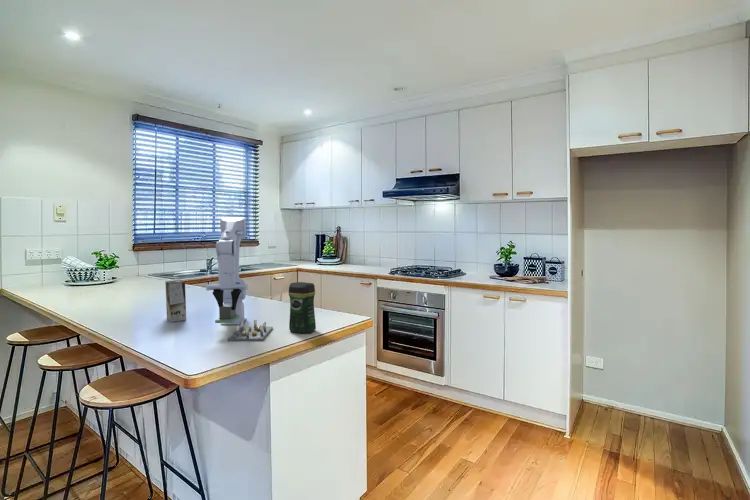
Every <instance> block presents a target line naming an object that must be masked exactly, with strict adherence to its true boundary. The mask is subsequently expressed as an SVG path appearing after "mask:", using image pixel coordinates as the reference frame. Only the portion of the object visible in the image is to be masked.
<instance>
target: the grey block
mask: <svg viewBox="0 0 750 500" xmlns="http://www.w3.org/2000/svg"><path fill="white" fill-rule="evenodd" d="M218 311H219V313H218V314H219V315H218V316H219V317H218V318H216V319H215V320H214V321H215V324H221V323H233V322H234V321H235V320H237V319H238V318H239V317H240V315H236V309H235V310H232V304H224V303H223V305H222V306H220V307H219V306H218Z"/></svg>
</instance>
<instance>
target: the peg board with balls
mask: <svg viewBox="0 0 750 500" xmlns="http://www.w3.org/2000/svg"><path fill="white" fill-rule="evenodd" d="M257 325H258V324H257V319H253V326H244V322H240V324H237V325H236V327H235V329H236V330H235V332H234V333H233V334H231V336H229V337H228V338H227V341H228V342H261V341H262V342H263V341H265V339H266V338H267V337H268V336H269V334H270V333H271V331H272V330H273V328H274V326H267V321H263V322H262V324H259V325H258V326H257Z"/></svg>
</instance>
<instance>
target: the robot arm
mask: <svg viewBox="0 0 750 500" xmlns="http://www.w3.org/2000/svg"><path fill="white" fill-rule="evenodd" d="M246 220H247V219H246V217H244V216H242V217H241V216H238V217H235V216H234V217H233V216H232V217H227V216H225V217H224V216H222V217H221V218H220V220H219V226H220V232H221V235H220V238H219V240H218V241H216V243H215V253H216V260H217V265H218V266H217V270H218V271H217V272H218V277H217V278H218V284H217V283H214V284H206V285H205V291H212V295H213V296H214V298H215V300H216V302H217V306H218V308H219V307H220V306H222V305H224V304H232V310H235V309H236V315H240V317H239V318H238V319H237V320H235V321H234V322H233V323H220V325H221V326H222V325H231V326H234V325H236V326H237V325H240V322H243V323H244V322H245V321H246V320H247V319H248V317H245V303H244V302H243V301H244V300H245V299H246V294H247V290H248V289H249V287H248V286H249V284H247V283H246V281H245V280H244V279H243V278H242V277H240V275H239V274H240V245H241V242H242V240H244V239H246V233H247V232H246V231H247V230H246V229H247V223H246V222H247V221H246Z"/></svg>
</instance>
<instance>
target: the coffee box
mask: <svg viewBox="0 0 750 500" xmlns="http://www.w3.org/2000/svg"><path fill="white" fill-rule="evenodd" d="M165 300H166V301H165V303H166V304H165V305H166V319H167V320H168V321H169V322H170V323H173V322H175V323H176V322H181V321H186V320H187V307H186V306H187V305H186V304H187V301H186V282H185V281H183V280H181V279H180V280H179V279H176V280H166V281H165Z"/></svg>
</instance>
